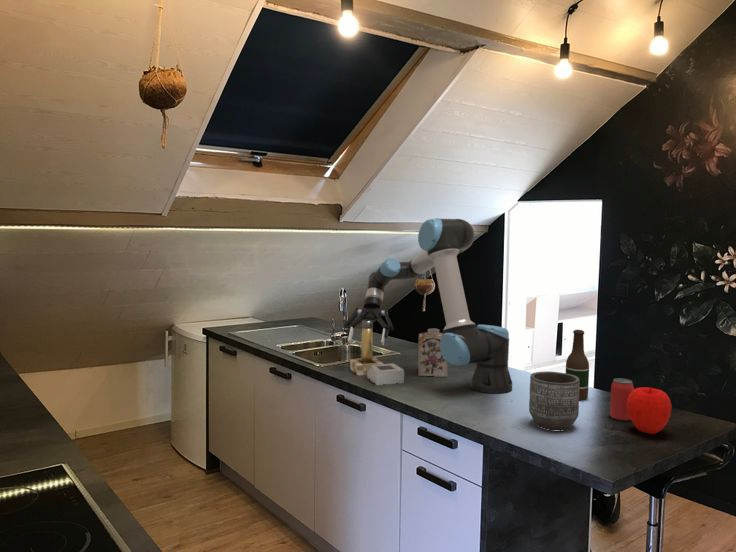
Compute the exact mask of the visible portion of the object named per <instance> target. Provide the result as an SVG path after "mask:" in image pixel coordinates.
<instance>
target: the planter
mask: <svg viewBox="0 0 736 552" xmlns="http://www.w3.org/2000/svg"><path fill="white" fill-rule="evenodd" d="M529 377H530V378H529V380H530V381H529V400H528V401H529V403H528V411H529V414H530V415H531V418H532V419H533V421H534V423H535V424H537V425H538V426H539V427H538V426H537V425H536V426H537V427H538V428H540V427H542V428H545V429H549V430H548V431H550V430H560V431H559V432H562V431H561V430H565V431H568V430H570V429H569V428H571V427H573V425H574V423H575V422H576V420H577V419H578V417H579V413H580V409H579V408H580V401H579V384H580V379H579V378H578V377H577V376H575V375H571V374H566V372H558V371H536V372H533V373H531V374H530V376H529ZM542 428H541V429H542ZM545 429H544V430H545ZM567 429H568V430H567Z"/></svg>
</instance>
